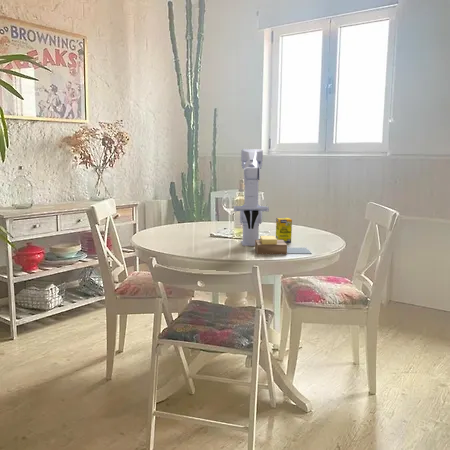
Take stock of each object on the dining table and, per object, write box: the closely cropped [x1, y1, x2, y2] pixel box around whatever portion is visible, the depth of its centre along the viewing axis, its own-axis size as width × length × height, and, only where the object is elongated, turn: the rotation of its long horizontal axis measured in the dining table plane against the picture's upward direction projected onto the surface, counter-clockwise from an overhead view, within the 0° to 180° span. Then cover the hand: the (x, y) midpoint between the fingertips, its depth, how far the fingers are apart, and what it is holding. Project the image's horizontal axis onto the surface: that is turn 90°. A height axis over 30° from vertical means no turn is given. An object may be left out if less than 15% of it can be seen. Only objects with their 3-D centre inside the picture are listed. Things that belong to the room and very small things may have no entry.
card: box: [259, 235, 277, 244], centre depth 204 cm, size 8×6×2 cm
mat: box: [286, 247, 312, 255], centre depth 206 cm, size 11×10×1 cm
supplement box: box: [275, 217, 293, 244], centre depth 225 cm, size 6×6×11 cm
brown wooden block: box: [254, 239, 288, 256], centre depth 204 cm, size 11×12×4 cm
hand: (250, 228), depth 202 cm, fingers closed
